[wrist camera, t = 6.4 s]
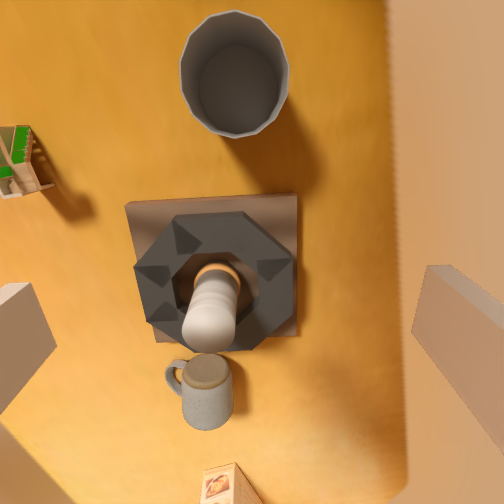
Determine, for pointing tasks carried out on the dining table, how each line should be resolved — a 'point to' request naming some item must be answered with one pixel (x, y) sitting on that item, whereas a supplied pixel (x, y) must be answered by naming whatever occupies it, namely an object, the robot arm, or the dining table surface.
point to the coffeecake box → (227, 487)
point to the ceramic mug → (204, 390)
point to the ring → (212, 241)
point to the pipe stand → (217, 264)
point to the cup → (234, 74)
